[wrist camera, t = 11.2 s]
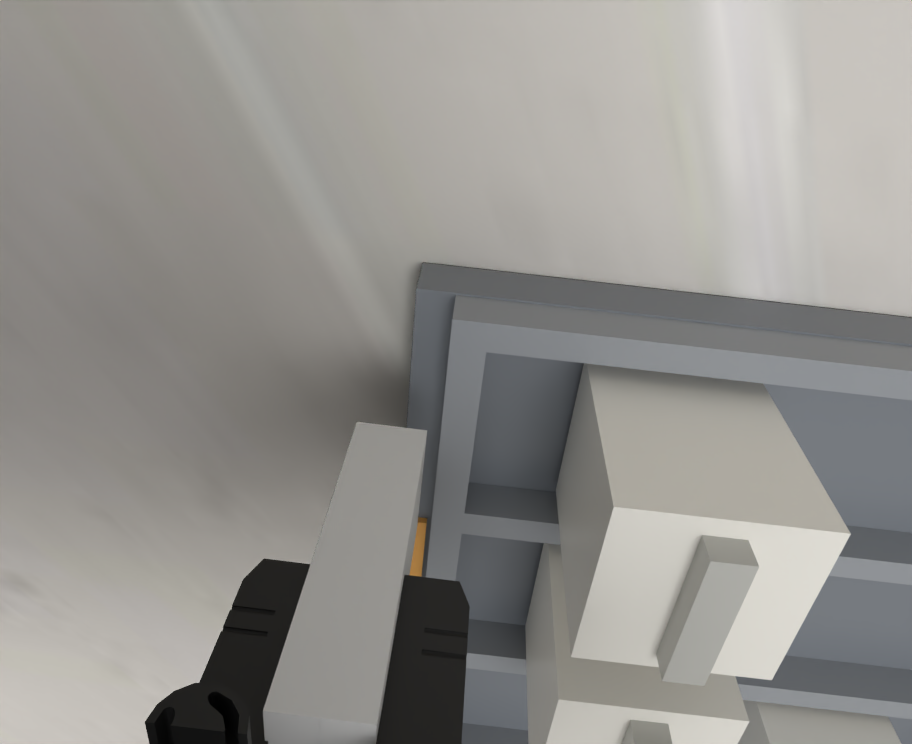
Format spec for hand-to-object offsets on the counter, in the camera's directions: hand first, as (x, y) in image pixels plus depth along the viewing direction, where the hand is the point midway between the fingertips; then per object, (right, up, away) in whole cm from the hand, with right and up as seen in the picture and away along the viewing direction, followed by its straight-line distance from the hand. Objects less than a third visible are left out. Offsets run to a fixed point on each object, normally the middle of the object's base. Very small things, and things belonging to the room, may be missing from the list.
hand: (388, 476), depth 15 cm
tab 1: (+6, +1, +2) cm, 7 cm away
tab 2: (+6, -4, +5) cm, 8 cm away
